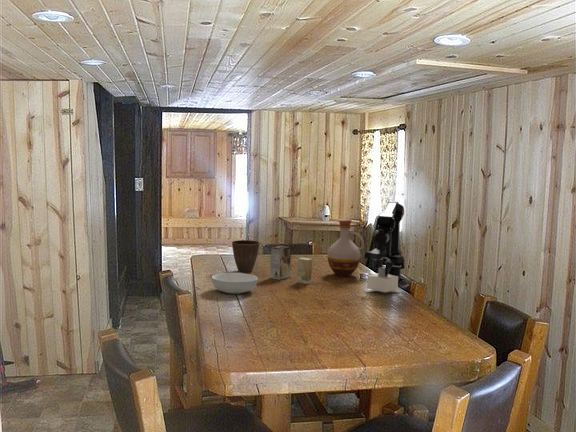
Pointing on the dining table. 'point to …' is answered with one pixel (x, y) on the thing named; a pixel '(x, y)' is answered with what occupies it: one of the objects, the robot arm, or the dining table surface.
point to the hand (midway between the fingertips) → (383, 275)
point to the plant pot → (245, 254)
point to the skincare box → (304, 270)
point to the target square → (382, 293)
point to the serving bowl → (234, 282)
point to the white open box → (382, 281)
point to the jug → (344, 252)
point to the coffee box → (280, 262)
